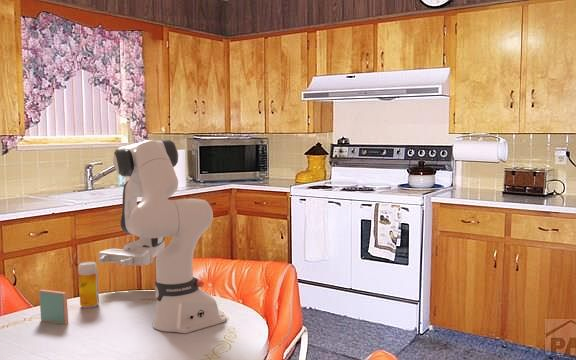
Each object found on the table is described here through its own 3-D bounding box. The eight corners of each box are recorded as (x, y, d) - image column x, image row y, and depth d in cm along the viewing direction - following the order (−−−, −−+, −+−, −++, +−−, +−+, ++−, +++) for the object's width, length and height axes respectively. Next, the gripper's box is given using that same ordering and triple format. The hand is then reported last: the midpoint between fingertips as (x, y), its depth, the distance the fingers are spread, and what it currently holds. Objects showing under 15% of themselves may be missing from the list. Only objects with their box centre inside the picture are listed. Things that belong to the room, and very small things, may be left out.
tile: (44, 319, 175) (42, 289, 174) (68, 323, 172) (66, 292, 171) (40, 320, 174) (38, 290, 173) (65, 324, 171) (63, 293, 170)
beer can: (80, 304, 190) (78, 262, 188) (99, 302, 192) (97, 260, 190) (79, 309, 184) (77, 266, 183) (98, 307, 186) (96, 264, 184)
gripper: (112, 243, 214) (87, 251, 202) (156, 247, 207) (133, 256, 194) (112, 258, 215) (88, 267, 202) (156, 263, 208) (134, 273, 195)
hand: (110, 262), depth 198 cm, fingers open, 8 cm apart
